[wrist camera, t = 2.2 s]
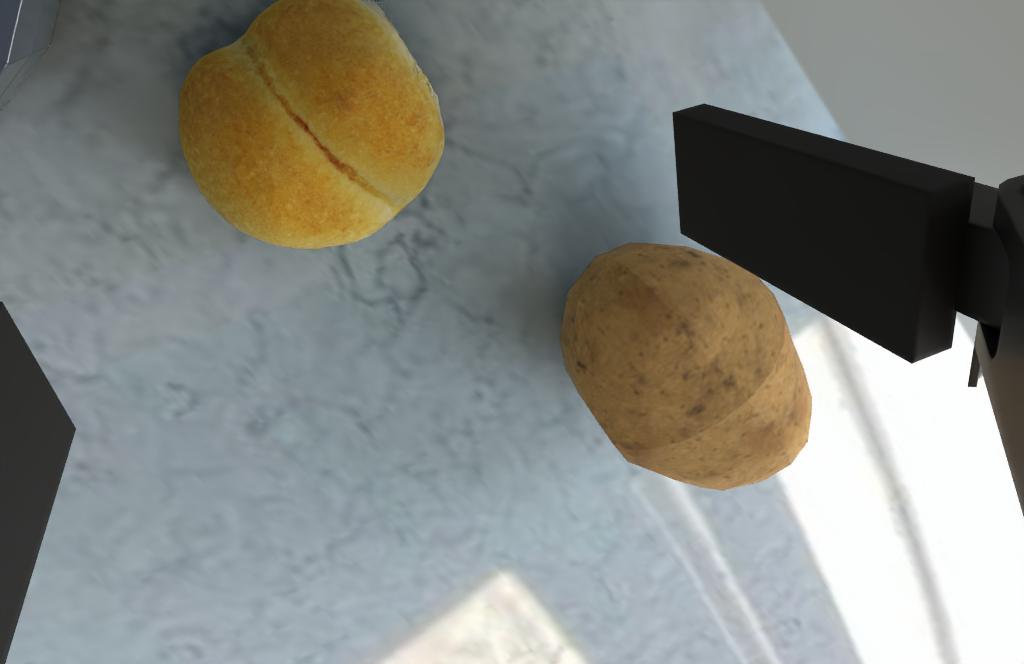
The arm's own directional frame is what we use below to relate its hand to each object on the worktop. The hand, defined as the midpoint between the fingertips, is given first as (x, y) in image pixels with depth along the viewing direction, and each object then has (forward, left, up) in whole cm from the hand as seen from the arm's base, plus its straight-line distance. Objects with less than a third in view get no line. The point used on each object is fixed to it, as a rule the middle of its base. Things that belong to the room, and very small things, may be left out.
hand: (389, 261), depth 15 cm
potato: (-12, +13, -15) cm, 24 cm away
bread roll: (0, 0, -15) cm, 15 cm away
